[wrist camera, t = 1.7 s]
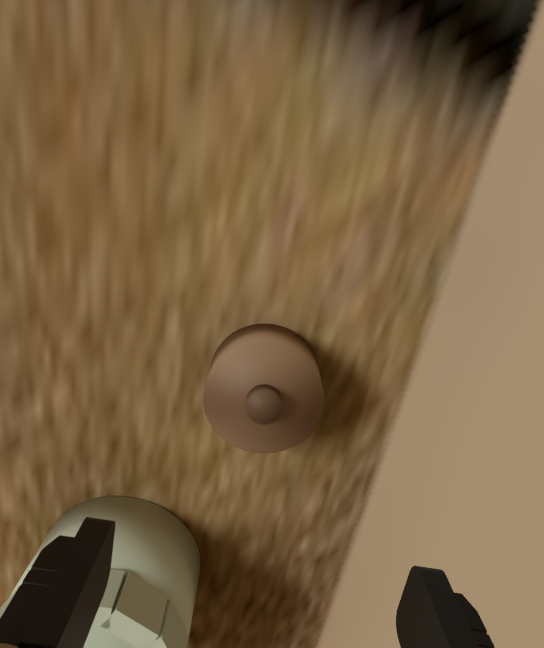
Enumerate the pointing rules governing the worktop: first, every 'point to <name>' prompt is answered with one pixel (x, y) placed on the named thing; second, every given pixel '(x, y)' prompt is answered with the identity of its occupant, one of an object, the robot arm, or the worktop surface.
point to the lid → (264, 389)
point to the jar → (138, 574)
